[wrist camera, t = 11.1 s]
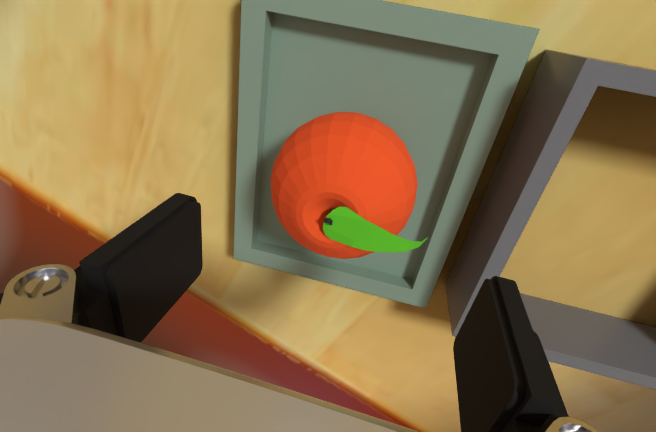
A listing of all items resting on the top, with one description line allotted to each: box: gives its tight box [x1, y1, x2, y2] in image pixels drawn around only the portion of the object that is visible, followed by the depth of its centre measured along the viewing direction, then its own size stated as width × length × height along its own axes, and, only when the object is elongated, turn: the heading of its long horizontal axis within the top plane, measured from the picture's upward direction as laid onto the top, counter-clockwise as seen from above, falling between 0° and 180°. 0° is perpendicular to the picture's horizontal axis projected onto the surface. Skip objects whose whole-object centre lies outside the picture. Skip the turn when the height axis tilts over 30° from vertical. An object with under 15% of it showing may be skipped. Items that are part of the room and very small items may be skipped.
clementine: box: [270, 112, 428, 259], centre depth 17 cm, size 8×7×7 cm
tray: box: [233, 0, 540, 308], centre depth 20 cm, size 13×16×2 cm
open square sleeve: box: [446, 50, 656, 389], centre depth 18 cm, size 15×15×4 cm
